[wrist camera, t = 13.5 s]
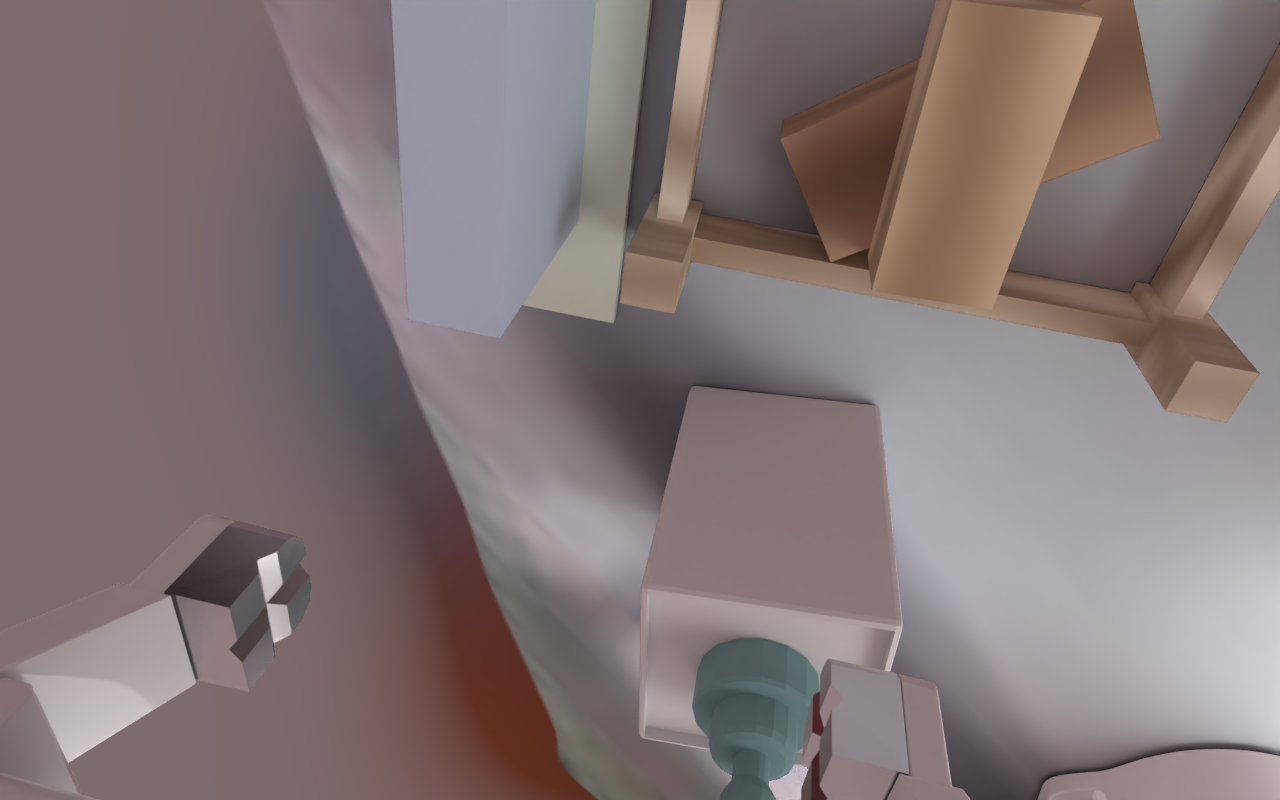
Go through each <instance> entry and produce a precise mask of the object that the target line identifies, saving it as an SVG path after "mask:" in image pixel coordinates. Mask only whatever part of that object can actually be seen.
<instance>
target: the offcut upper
mask: <svg viewBox="0 0 1280 800" xmlns="http://www.w3.org/2000/svg"><path fill="white" fill-rule="evenodd" d="M1101 21H1102V17H1100V16H1098V15H1096V14H1095V13H1093V12H1091V11H1089V10H1088V9H1086V8H1084V7H1082V6H1081V5H1079V4H1077V3H1075V2H1070V1H1062V0H936V2H935V5H934V9H933V13H932V17H931V20H930V24H929V28H928V32H927V35H926V39H925V43H924V47H923V50H922V54H921V58H920V62H919V65H918V69H917V73H916V77H915V81H914V84H913V88H912V92H911V96H910V99H909V103H908V107H907V111H906V114H905V118H904V122H903V126H902V129H901V133H900V137H899V141H898V144H897V148H896V152H895V156H894V159H893V163H892V167H891V171H890V174H889V178H888V182H887V186H886V189H885V193H884V197H883V201H882V204H881V208H880V212H879V215H878V219H877V223H876V227H875V230H874V234H873V238H872V242H871V245H870V249H869V253H868V262H869V271H870V281H871V290H872V291H875V292H882V293H888V294H894V295H900V296H907V297H913V298H919V299H926V300H932V301H938V302H944V303H951V304H957V305H963V306H969V307H976V308H982V309H988V310H992V309H993V306H994V304H995V301H996V298H997V296H998V293H999V290H1000V288H1001V285H1002V282H1003V280H1004V277H1005V275H1006V272H1007V269H1008V267H1009V264H1010V261H1011V259H1012V256H1013V253H1014V251H1015V248H1016V245H1017V243H1018V240H1019V238H1020V235H1021V232H1022V230H1023V227H1024V224H1025V222H1026V219H1027V216H1028V214H1029V211H1030V208H1031V206H1032V203H1033V201H1034V198H1035V195H1036V193H1037V190H1038V187H1039V185H1040V182H1041V179H1042V177H1043V174H1044V171H1045V169H1046V166H1047V163H1048V161H1049V158H1050V156H1051V153H1052V150H1053V148H1054V145H1055V142H1056V140H1057V137H1058V134H1059V132H1060V129H1061V126H1062V124H1063V121H1064V119H1065V116H1066V113H1067V111H1068V108H1069V105H1070V103H1071V100H1072V97H1073V95H1074V92H1075V89H1076V87H1077V84H1078V82H1079V79H1080V76H1081V74H1082V71H1083V68H1084V66H1085V63H1086V60H1087V58H1088V55H1089V52H1090V50H1091V47H1092V45H1093V42H1094V39H1095V37H1096V34H1097V31H1098V29H1099V26H1100V23H1101Z"/></svg>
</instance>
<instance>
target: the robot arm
mask: <svg viewBox="0 0 1280 800" xmlns="http://www.w3.org/2000/svg"><path fill="white" fill-rule="evenodd" d="M305 555H306V551H305V546H304V542H303V539H302V538H300V537H297V536H294V535H291V534H287V533H283V532H279V531H275V530H271V529H267V528H264V527H260V526H256V525H252V524H249V523H245V522H240V521H235V520H231V519H228V518H224V517H220V516H216V515H212V514H208V515H205V516H203V517H200V518H198V519H197V520H196V521H195V522H194V523H193V524H192V525H191V526H190V527H189V528H188V529H187V530H186V531H185V532H183V533H182V534H181V535H180V536H179V537H178V538H177V539H176V540H175V541H174V542H173V543H172V544H171V545H170V546H169V547H168V548H167V549H166V550H165V551H164V552H163V553H162V554H161V555H160V556H159V557H158V558H157V559H156V560H155V561H154V562H153V563H152V564H150V566H148V567H147V568H146V569H145V570H144V571H143V572H142V573H141V574H140V575H139V576H138V577H137V578H136V579H135V580H134V581H133V582H132V583H131V584H130V585H126V584H121V583H120V584H117V585H115V586H112V587H110V588H107V589H105V590H102V591H100V592H97V593H95V594H92V595H90V596H87V597H85V598H82V599H80V600H77V601H75V602H72V603H70V604H68V605H65V606H62V607H60V608H57V609H55V610H53V611H50V612H48V613H45V614H43V615H40V616H38V617H35V618H33V619H30V620H28V621H25V622H23V623H20V624H18V625H15V626H13V627H10V628H8V629H5V630H3V631H0V800H99V799H95V798H91V797H88V796H84V795H80V787H79V785H78V783H77V781H76V779H75V777H74V774H73V772H72V770H71V768H70V766H69V764H68V762H70V761H72V760H73V759H75V758H76V757H78V756H80V755H81V754H83V753H84V752H86V751H88V750H89V749H91V748H93V747H94V746H96V745H97V744H99V743H101V742H102V741H104V740H105V739H107V738H109V737H110V736H112V735H113V734H115V733H117V732H118V731H120V730H122V729H123V728H125V727H126V726H128V725H130V724H131V723H133V722H134V721H136V720H138V719H139V718H141V717H143V716H144V715H146V714H147V713H149V712H150V711H152V710H154V709H155V708H157V707H159V706H160V705H162V704H163V703H165V702H167V701H168V700H170V699H172V698H173V697H175V696H176V695H178V694H180V693H181V692H183V691H184V690H186V689H188V688H189V687H191V686H193V685H194V684H195V683H196V680H198V681H203V682H207V683H212V684H216V685H221V686H225V687H229V688H234V689H239V690H243V691H248V692H249V691H250V690H251V689H252V687H253V686H254V685H255V683H256V682H257V681H258V679H259V678H260V677H261V675H262V674H263V673H264V671H265V670H266V669H267V667H268V666H269V664H270V663H271V662H272V660H273V659H274V658H275V650H274V643H275V642H277V641H279V640H281V639H283V638H285V637H287V636H289V635H291V634H292V633H293V632H294V630H295V629H296V627H297V626H298V624H299V623H300V622H301V620H302V618H303V616H304V613H305V611H306V608H307V606H308V603H309V600H310V592H311V583H310V576H309V574H308V573H307V572H306V571H305V570H304V568H303V567H302V566H301V565H300V564H299V563H300V562H301V560H302V559H303V558H304V557H305ZM802 760H803V761H804V763H805V765H806V766H807V768H808V769H809V770H808V772H807V775H806V778H805V780H804V783H803V786H802V791H801V800H970V798H969V797H968V796H967V794H966V793H965V792H964V790H963V789H960V788H956V787H953V786H952V784H951V777H950V771H949V764H948V757H947V750H946V743H945V737H944V730H943V723H942V716H941V710H940V703H939V696H938V689H937V687H936V686H935V684H934V682H931V681H927V680H922V679H918V678H914V677H909V676H905V675H900V674H897V675H896V673H893V672H889V671H884V670H880V669H875V668H870V667H866V666H861V665H857V664H852V663H848V662H843V661H839V660H834V659H829V658H828V659H827V661H826V662H825V664H824V666H823V669H822V672H821V674H820V691H819V692H817V693H815V694H813V697H812V700H811V703H810V706H809V709H808V714H807V718H806V723H805V728H804V739H803V757H802ZM1037 800H1280V756H1277V755H1272V754H1267V753H1261V752H1254V751H1246V750H1231V749H1201V750H1188V751H1179V752H1172V753H1166V754H1161V755H1156V756H1152V757H1147V758H1144V759H1140V760H1137V761H1134V762H1131V763H1128V764H1125V765H1122V766H1119V767H1116V768H1112V769H1108V770H1104V771H1098V772H1084V773H1073V774H1065V775H1059V776H1055V777H1052V778H1050V779H1048V780H1046V781H1045V782H1044V784H1043V786H1042V788H1041V791H1040V794H1039V797H1038V799H1037Z"/></svg>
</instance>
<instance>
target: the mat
mask: <svg viewBox="0 0 1280 800" xmlns="http://www.w3.org/2000/svg"><path fill="white" fill-rule="evenodd" d="M652 4H653V0H596V7H595V20H594V32H593V45H592V57H591V70H590V82H589V95H588V108H587V120H586V133H585V145H584V158H583V170H582V183H581V195H580V208H579V220H578V222H577V224H576V225H575V227H574V228H573V230H572V231H571V233H570V234H569V236H568V237H567V239H566V240H565V242H564V243H563V245H562V246H561V248H560V249H559V251H558V252H557V254H556V255H555V257H554V258H553V260H552V261H551V263H550V264H549V266H548V267H547V269H546V270H545V272H544V273H543V275H542V276H541V278H540V279H539V281H538V282H537V284H536V285H535V287H534V288H533V290H532V291H531V293H530V294H529V296H528V297H527V299H526V300H525V302H524V303H523V305H524V306H529V307H534V308H539V309H544V310H549V311H554V312H559V313H564V314H569V315H574V316H579V317H584V318H589V319H594V320H599V321H604V322H609V323H614V320H615V318H616V313H617V304H618V295H619V287H620V278H621V270H622V261H623V253H624V244H625V236H626V227H627V218H628V210H629V201H630V193H631V184H632V176H633V167H634V158H635V150H636V141H637V133H638V124H639V116H640V107H641V98H642V90H643V81H644V73H645V64H646V56H647V47H648V39H649V30H650V21H651V13H652Z"/></svg>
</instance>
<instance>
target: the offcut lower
mask: <svg viewBox="0 0 1280 800" xmlns="http://www.w3.org/2000/svg"><path fill="white" fill-rule="evenodd" d="M1062 1H1070V2H1075V3H1077V4H1079V5H1081V6H1082V7H1084V8H1086V9H1088V10H1089V11H1091V12H1093V13H1095V14H1096V15H1098V16H1100V17H1102V21H1101V23H1100V26H1099V29H1098V31H1097V34H1096V37H1095V39H1094V42H1093V45H1092V47H1091V50H1090V52H1089V55H1088V58H1087V60H1086V63H1085V66H1084V68H1083V71H1082V74H1081V76H1080V79H1079V82H1078V84H1077V87H1076V89H1075V92H1074V95H1073V97H1072V100H1071V103H1070V105H1069V108H1068V111H1067V113H1066V116H1065V119H1064V121H1063V124H1062V126H1061V129H1060V132H1059V134H1058V137H1057V140H1056V142H1055V145H1054V148H1053V150H1052V153H1051V156H1050V158H1049V161H1048V163H1047V166H1046V169H1045V171H1044V174H1043V177H1042V179H1041V182H1040V184H1041V183H1044V182H1046V181H1049V180H1052V179H1054V178H1057V177H1060V176H1062V175H1065V174H1068V173H1070V172H1073V171H1076V170H1078V169H1081V168H1084V167H1087V166H1089V165H1092V164H1095V163H1097V162H1100V161H1103V160H1105V159H1108V158H1111V157H1113V156H1116V155H1119V154H1121V153H1124V152H1127V151H1129V150H1132V149H1135V148H1137V147H1140V146H1143V145H1145V144H1148V143H1151V142H1153V141H1156V140H1159V139H1160V135H1159V130H1158V124H1157V119H1156V114H1155V109H1154V104H1153V99H1152V94H1151V89H1150V84H1149V79H1148V74H1147V69H1146V63H1145V58H1144V53H1143V48H1142V43H1141V38H1140V33H1139V28H1138V23H1137V18H1136V13H1135V8H1134V2H1133V0H1062ZM919 62H920V58H919V59H916V60H914V61H912V62H910V63H908V64H906V65H903V66H901V67H899V68H897V69H895V70H892V71H890V72H888V73H886V74H884V75H881V76H879V77H877V78H875V79H873V80H871V81H868V82H866V83H864V84H862V85H860V86H857V87H855V88H853V89H851V90H849V91H846V92H844V93H842V94H840V95H838V96H836V97H833V98H831V99H829V100H827V101H825V102H822V103H820V104H818V105H816V106H814V107H811V108H809V109H807V110H805V111H803V112H801V113H798V114H796V115H794V116H792V117H790V118H787V119H785V120H783V124H782V131H781V137H780V141H781V143H782V146H783V148H784V150H785V153H786V155H787V158H788V160H789V162H790V165H791V167H792V170H793V172H794V174H795V177H796V179H797V182H798V184H799V186H800V189H801V191H802V194H803V196H804V199H805V201H806V203H807V206H808V208H809V211H810V213H811V215H812V218H813V220H814V223H815V225H816V227H817V230H818V232H819V235H820V237H821V240H822V242H823V244H824V247H825V249H826V252H827V254H828V256H829V259H830V261H831V262H833V261H835V260H838V259H841V258H843V257H846V256H849V255H851V254H854V253H857V252H859V251H862V250H865V249H867V248H870V245H871V242H872V238H873V234H874V230H875V227H876V223H877V219H878V215H879V212H880V208H881V204H882V201H883V197H884V193H885V189H886V186H887V182H888V178H889V174H890V171H891V167H892V163H893V159H894V156H895V152H896V148H897V144H898V141H899V137H900V133H901V129H902V126H903V122H904V118H905V114H906V111H907V107H908V103H909V99H910V96H911V92H912V88H913V84H914V81H915V77H916V73H917V69H918V65H919Z"/></svg>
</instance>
